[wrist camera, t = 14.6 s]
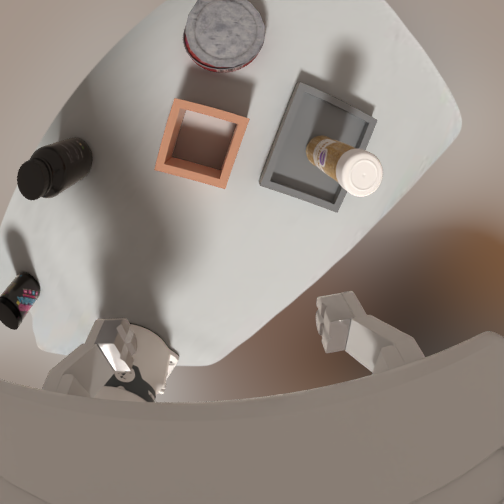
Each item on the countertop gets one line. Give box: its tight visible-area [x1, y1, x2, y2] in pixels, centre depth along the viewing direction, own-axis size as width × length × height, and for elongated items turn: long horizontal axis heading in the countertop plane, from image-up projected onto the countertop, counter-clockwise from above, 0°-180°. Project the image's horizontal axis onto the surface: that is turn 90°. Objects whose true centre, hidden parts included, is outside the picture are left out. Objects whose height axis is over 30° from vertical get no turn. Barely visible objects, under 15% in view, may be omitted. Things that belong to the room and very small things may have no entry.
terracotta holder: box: [154, 98, 249, 189], centre depth 32 cm, size 9×9×5 cm
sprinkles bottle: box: [306, 136, 383, 197], centre depth 30 cm, size 5×5×14 cm
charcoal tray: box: [259, 82, 377, 212], centre depth 35 cm, size 15×12×2 cm
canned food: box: [183, 0, 265, 72], centre depth 25 cm, size 11×10×10 cm
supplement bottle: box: [17, 138, 92, 200], centre depth 28 cm, size 7×7×12 cm
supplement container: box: [0, 272, 40, 330], centre depth 38 cm, size 7×7×10 cm
